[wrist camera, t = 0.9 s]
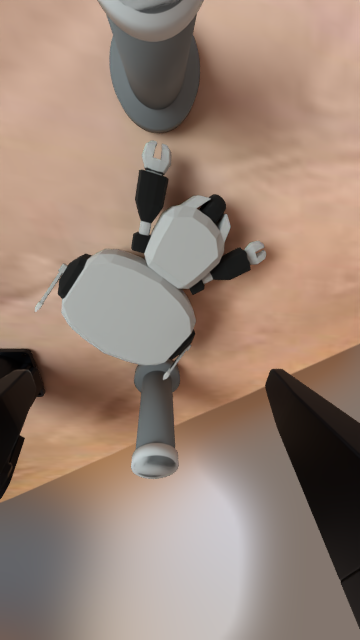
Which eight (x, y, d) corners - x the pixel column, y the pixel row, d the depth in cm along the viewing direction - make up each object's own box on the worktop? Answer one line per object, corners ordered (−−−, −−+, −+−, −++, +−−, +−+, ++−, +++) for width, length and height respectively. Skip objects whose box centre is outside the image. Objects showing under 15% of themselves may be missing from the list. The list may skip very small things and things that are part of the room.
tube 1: (117, 130, 15) (55, 54, 6) (109, 10, 12) (-18, -402, 4) (193, 135, 15) (234, 71, 7) (201, 21, 13) (282, -327, 4)
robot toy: (148, 134, 16) (49, 296, 20) (148, 111, 12) (25, 319, 16) (261, 247, 20) (160, 359, 25) (287, 258, 16) (161, 389, 21)
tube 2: (136, 389, 27) (124, 484, 18) (134, 356, 24) (118, 449, 16) (178, 388, 27) (185, 481, 19) (180, 356, 25) (189, 446, 16)
